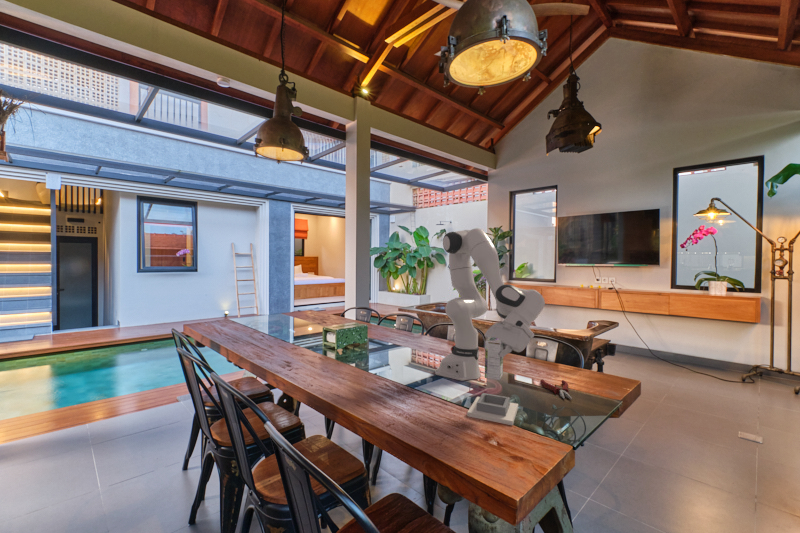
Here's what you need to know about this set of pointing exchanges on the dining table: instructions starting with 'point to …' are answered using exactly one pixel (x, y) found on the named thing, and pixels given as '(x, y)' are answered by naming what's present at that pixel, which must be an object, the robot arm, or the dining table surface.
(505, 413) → the socket board
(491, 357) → the syrup box
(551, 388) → the pliers
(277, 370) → the dining table surface
